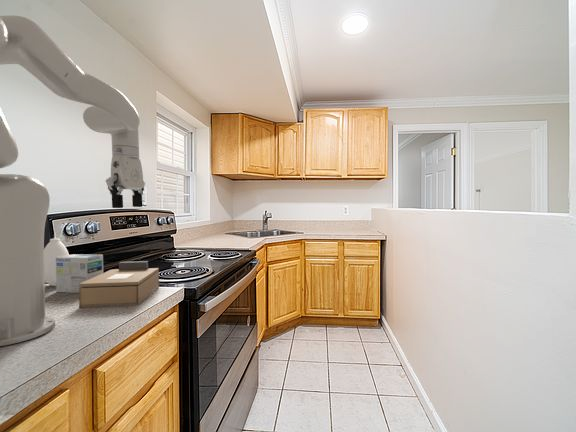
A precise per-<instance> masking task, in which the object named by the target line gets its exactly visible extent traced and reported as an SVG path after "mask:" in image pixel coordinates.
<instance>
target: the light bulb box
mask: <svg viewBox="0 0 576 432" xmlns="http://www.w3.org/2000/svg"><path fill="white" fill-rule="evenodd" d="M102 273H104V254H83V253H81V254H78V253H77V254H76V253H75V254H74V253H73V254H69V255H66V256H59V257H56V286H55V287H56V289H55V292H56V293H75V294H77V293H78V294H79V288H81V287H79V284H80V283H82V282H84V281H87V280H89V279H91V278H93V277H96V276H98V275H100V274H102Z"/></svg>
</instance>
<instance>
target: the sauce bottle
mask: <svg viewBox="0 0 576 432" xmlns="http://www.w3.org/2000/svg"><path fill="white" fill-rule="evenodd" d="M53 233H54V234H53V238H50V239H49V242H48V243H47V244H46V246H44V270H45V283H46V284H48V285H49V286H52V287H56V257H59V256H66V255H70V254H69V250H68V249H67V247H66V246H65V244H64V243H63V242H62V241H61V239H60V238H58V237H57V232H56V230H54V232H53Z"/></svg>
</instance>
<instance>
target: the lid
mask: <svg viewBox="0 0 576 432" xmlns="http://www.w3.org/2000/svg"><path fill="white" fill-rule="evenodd" d="M159 270H160V268H159V267H152V268H149V260H140V261H139V260H138V261H120V262H118V268H115V269H109V270H107V271H105V272H103V273H102V274H100V275H98V276H96V277H93V278H91V279H89V280H87V281H84V282H82V283H80V284H79V287H94V286H122V285H139V284H140V283H142V282H143V281H144V280H146V279H147V278H149V277H150V276H152V275H153V274H155V273H156V272H158V271H159ZM159 272H160V271H159Z"/></svg>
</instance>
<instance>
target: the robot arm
mask: <svg viewBox="0 0 576 432" xmlns="http://www.w3.org/2000/svg"><path fill="white" fill-rule="evenodd" d="M0 65H19V66H21V67H23V68H24V69H25V71H27V72H28V73H30V74H31V75H32V76H33V77H34V78H36V79H37V80H38V81H39V82H40V83H41V84H43V85H44V86H45V87H46V88H48V89H49V90H50V91H51V92H52V93H53V94H55V96H58V97H61V98H63V99H65V100H70V101H73V102H78V103H80V104H85V105H89V107H87V108H85V109H84V111H83V113H82V115H83V116H82V119H83V122H84V124H85V125H86V126H87V128H88V129H90V130H92V131H93V132H96V133H101V134H108V135H109V134H110V135H111V152H112V153H111V154H112V157H111V163H110V176H109V177H108V178H106V179H105V183H106V185H107V189H108V191H109V194H110V195H111V207H112V208H113V209H122V208H123V207H124V198H123V196H124V195H123V194H122V193H123V191H124V190H130V191H131V192H132V195H131V196H132V197H131V200H132V207H134V208H142V207H143V195H144V193H143V192H144V190H145V185H146V182H144V173H143V167H142V162H141V159H140V143H139V140H140V139H139V138H140V137H139V126H140V116H139V114H138V111H137V110H136V108H135V106H134V105H133V104H132V102H131V101H130V100H129V99H128V98H127V97H126V96H125V94H123V93H122V92H121V91H119V90H118V89H117V88H115V87H114V86H112V85H110V84H108V83H107V82H105V81H102V80H101V79H99V78H97V77H95V76H93V75H91V74H89V73H87V72H85V71H83V70H82V69H81V68H80V67H79V65H77V64H76V62H74V61H73V60H72V59H71V58H70V57H69V55H67V54H66V52H65V51H64V50H62V48H61V47H60V46H59V45H58V44H57V43H56V42H55V41H54V40H53V39H52V38H51V37H50V36H49V35H48V34H47V33H46V32H45V30H43V28H41V27H40V26H39V25H38V24H37V23H36V22H34V21H33V20H31V19H29V18H27V17H25V16H20V15H0ZM90 105H91V106H90ZM18 158H19V149H18V145H17V142H16V139H15V138H14V135H13V133H12V130H11V128H10V126H9V124H8V122H7V120H6V117H5V115H4V113H3V110H2V108H1V107H0V169H4V168H6V167H7V168H8V167H9V166H13V164H14V163H16V161H17V160H18ZM49 209H50V194H49V190H48V189H47V188H46V186H45V185H44V184H43V183H42V182H40V181H39V180H38V179H36V178H33V177H31V176H27V175H23V174H13V173H12V174H11V173H10V174H9V173H7V174H6V173H5V174H3V173H2V174H0V347H4V346H5V347H6V346H8V345H14V344H18V343H21V342H25V341H30V340H32V339H34V338H37V337H39V336H42V335H44V334H47V333H49V332H50V331H52V330H53V329H54V327H55V326H56V320H55V318H52V317H49V316H46V291H45V290H46V287H45V285H46V284H45V270H44V249H45V228H46V222H47V217H48V213H49Z"/></svg>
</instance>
